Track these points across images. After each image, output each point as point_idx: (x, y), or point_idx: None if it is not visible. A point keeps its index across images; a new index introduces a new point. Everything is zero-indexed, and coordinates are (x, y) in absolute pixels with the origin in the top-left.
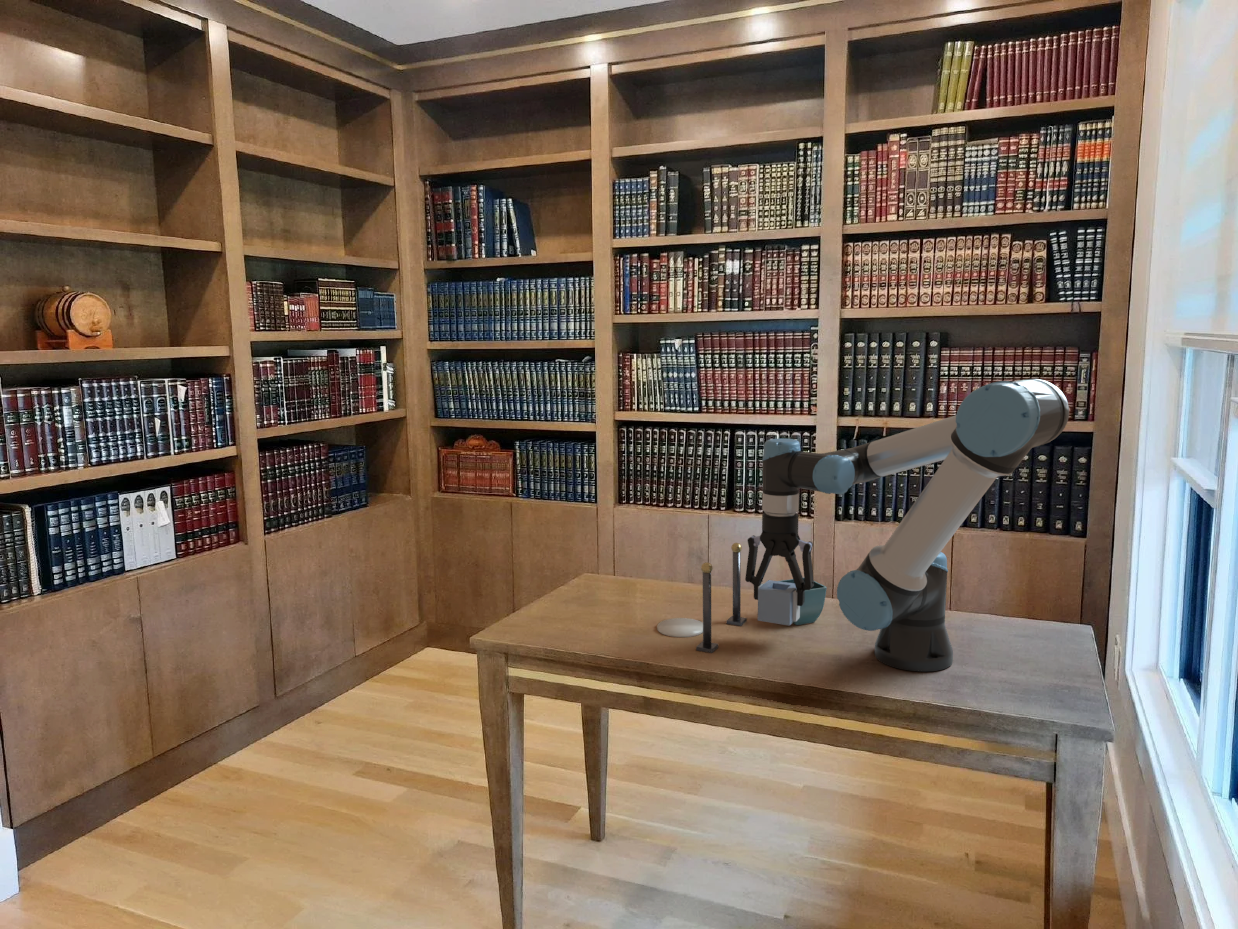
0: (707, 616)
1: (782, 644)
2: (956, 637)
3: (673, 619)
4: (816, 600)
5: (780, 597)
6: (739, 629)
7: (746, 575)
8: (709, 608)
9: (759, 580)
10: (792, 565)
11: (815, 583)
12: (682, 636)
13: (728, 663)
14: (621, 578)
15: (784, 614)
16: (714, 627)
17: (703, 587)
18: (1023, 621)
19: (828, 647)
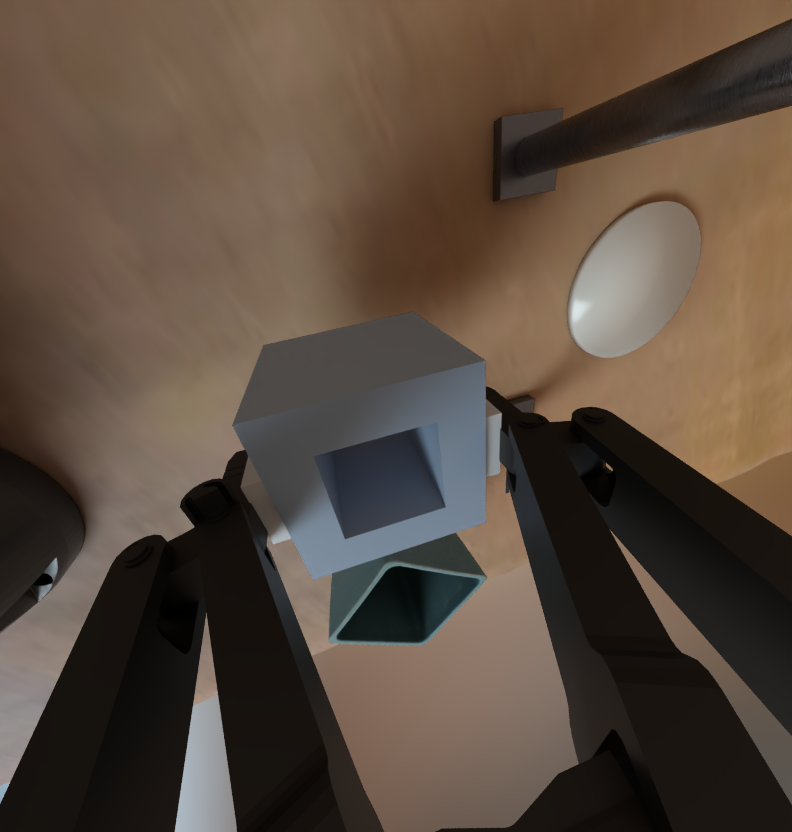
0: (637, 88)
1: None
2: (16, 666)
3: (661, 322)
4: (343, 580)
5: (312, 386)
6: (487, 384)
7: (626, 429)
8: (675, 80)
9: (519, 441)
10: (249, 730)
11: (380, 638)
12: (619, 218)
13: (392, 26)
14: (762, 461)
15: (287, 355)
16: (549, 354)
17: None
18: (11, 772)
19: (204, 428)
